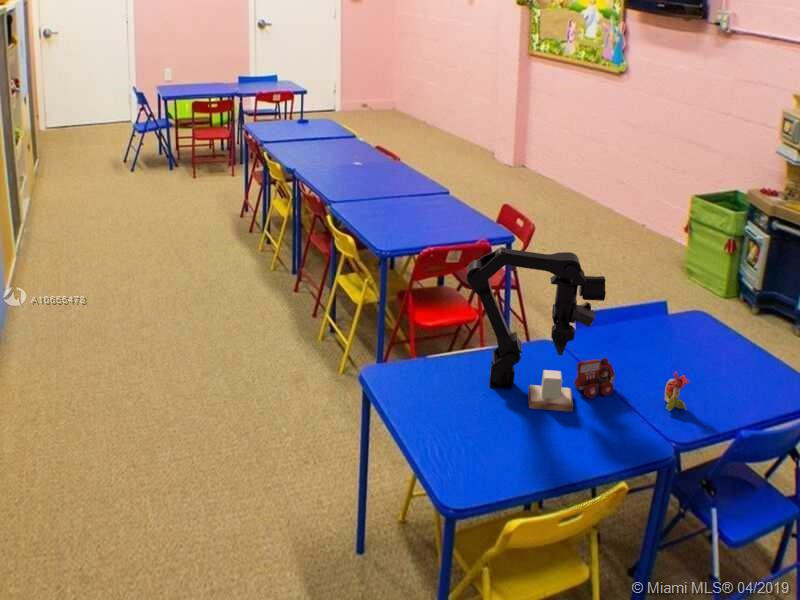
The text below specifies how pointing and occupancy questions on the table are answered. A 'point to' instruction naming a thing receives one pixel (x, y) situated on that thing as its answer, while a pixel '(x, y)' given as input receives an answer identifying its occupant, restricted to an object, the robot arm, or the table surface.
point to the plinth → (550, 400)
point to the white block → (551, 384)
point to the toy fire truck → (595, 377)
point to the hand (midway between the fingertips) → (560, 347)
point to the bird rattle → (675, 392)
